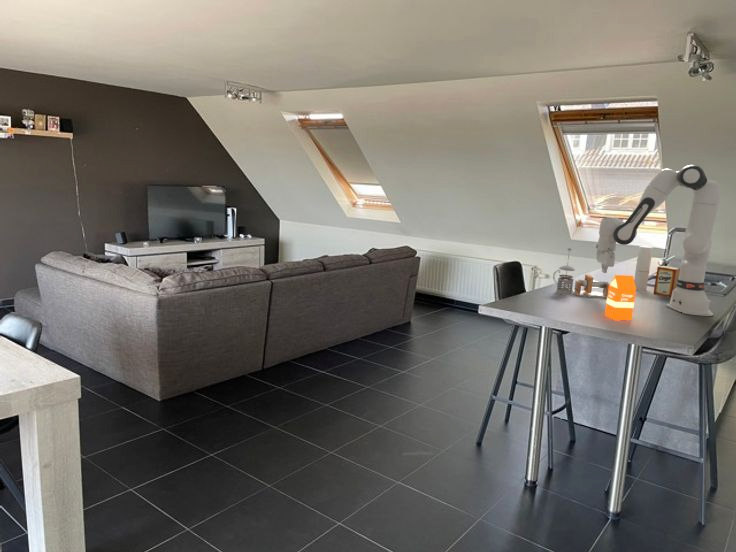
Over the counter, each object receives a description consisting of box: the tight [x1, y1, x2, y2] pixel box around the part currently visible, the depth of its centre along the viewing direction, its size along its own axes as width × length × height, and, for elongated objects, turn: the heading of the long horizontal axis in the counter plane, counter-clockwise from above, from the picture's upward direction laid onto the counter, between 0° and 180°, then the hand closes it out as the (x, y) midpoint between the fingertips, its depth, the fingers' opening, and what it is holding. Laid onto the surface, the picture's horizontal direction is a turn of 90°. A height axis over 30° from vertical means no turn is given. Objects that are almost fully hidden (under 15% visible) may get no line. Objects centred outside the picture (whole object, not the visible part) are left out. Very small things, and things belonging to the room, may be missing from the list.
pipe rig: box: [572, 279, 610, 299], centre depth 295 cm, size 11×19×8 cm, turn 82°
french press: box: [552, 247, 576, 296], centre depth 294 cm, size 10×12×25 cm
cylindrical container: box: [634, 245, 654, 291], centre depth 317 cm, size 7×7×25 cm
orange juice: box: [604, 274, 637, 321], centre depth 246 cm, size 8×9×20 cm
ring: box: [582, 274, 594, 293], centre depth 295 cm, size 9×2×9 cm, turn 172°
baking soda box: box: [653, 265, 680, 298], centre depth 304 cm, size 10×6×16 cm
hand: (604, 272), depth 292 cm, fingers closed
